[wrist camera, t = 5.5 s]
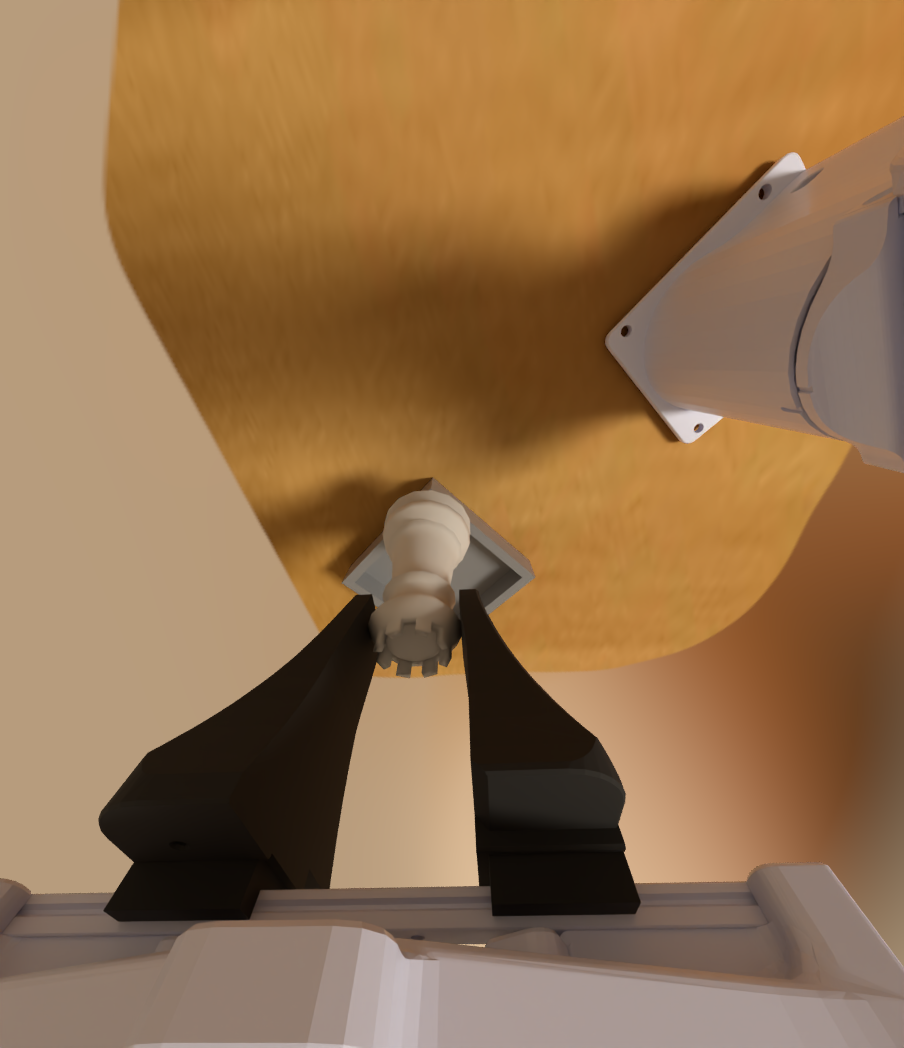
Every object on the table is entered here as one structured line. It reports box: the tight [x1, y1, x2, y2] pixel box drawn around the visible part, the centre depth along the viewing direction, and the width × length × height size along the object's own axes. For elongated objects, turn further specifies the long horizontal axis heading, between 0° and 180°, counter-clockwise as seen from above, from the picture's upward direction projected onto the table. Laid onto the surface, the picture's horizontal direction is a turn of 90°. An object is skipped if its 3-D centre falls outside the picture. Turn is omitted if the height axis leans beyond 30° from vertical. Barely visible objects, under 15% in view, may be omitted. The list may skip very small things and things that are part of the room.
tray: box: [342, 478, 535, 619], centre depth 22 cm, size 9×9×2 cm
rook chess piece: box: [368, 490, 470, 678], centre depth 14 cm, size 4×4×8 cm
